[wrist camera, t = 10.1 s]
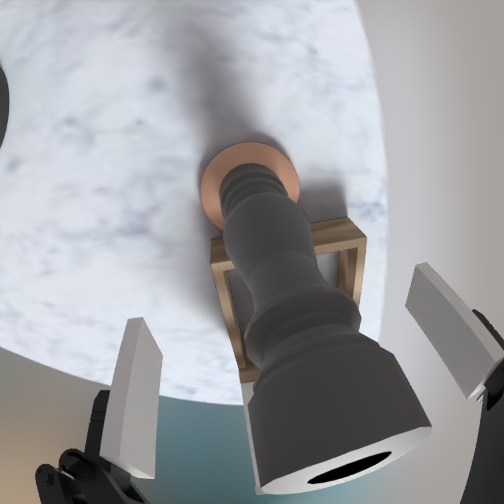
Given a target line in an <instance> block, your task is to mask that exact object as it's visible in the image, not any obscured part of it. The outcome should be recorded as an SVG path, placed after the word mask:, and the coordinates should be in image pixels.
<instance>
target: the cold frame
mask: <svg viewBox="0 0 504 504" xmlns="http://www.w3.org/2000/svg"><path fill="white" fill-rule="evenodd" d="M310 227H311V232H312V238H313V244H314V250H315V255H318V254H323V253H329V252H334V251H340V252H339V273H338V289H340V290H341V291H343V292H344V293H346V294H347V295H348V296H350V297H351V298H353V300H354V301H355V303H356V304H357V307H358V310H359V303H360V296H361V289H362V281H363V273H364V264H365V254H366V243H367V237H366V236H365V235H364V233H363V232H362V231H361V230H360V229H359V228H358V227H357V226H356V225H355V224H354V223H353V222H352V221H351V220H350V219H349V218H342V219H335V220H329V221H322V222H316V223H310ZM210 265H211V269H212V273H213V277H214V281H215V284H216V288H217V292H218V296H219V300H220V304H221V308H222V311H223V315H224V319H225V322H226V326H227V330H228V333H229V337H230V341H231V344H232V348H233V351H234V355H235V358H236V362H237V365H238V368H239V377H240V383H247V382H254V381H255V380H256V378H257V376H258V375H259V373H260V368H258V367H257V366H256V365H255V364H254V363H253V362H252V361H251V360H250V359H249V358H248V357H247V352H246V347H245V342H244V341H242V337H241V332H240V328H239V324H238V319H237V315H236V311H235V306H234V302H233V297H232V293H231V288H230V284H229V279H228V275H227V270H232V269H236V268H235V266H234V265H233V263H232V261H231V260H230V258H229V257H228V255H227V253H226V250H225V245H224V239H223V238H219V239H213V240H211V260H210Z"/></svg>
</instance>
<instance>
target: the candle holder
mask: <svg viewBox="0 0 504 504" xmlns="http://www.w3.org/2000/svg"><path fill="white" fill-rule="evenodd" d="M219 196H220V206H221V212H222V216H223V218H224V219H225V222H226V223H225V227H224V230H223V239H224V245H225V250H226V253H227V255H228V257H229V258H230V260H231V261H232V263H233V265H234V266H235V268H236V270H237V271H238V273H239V275H240V276H241V278H242V279H243V281H244V283H245V284H246V286H247V288H248V289H249V291H250V293H251V298H252V303H253V308H254V314H253V315H252V316H251V318H250V321H249V323H248V326H247V328H246V331H245V334H244V342H245V347H246V352H247V357H248V358H249V359H250V360H251V361H252V362H253V363H254V364H255V365H256V366H257V367H258V368H260V373H259V375H258V376H257V378H256V380H255V382H254V384H253V392H254V394H253V396H252V398H251V400H250V401H249V403H248V412H249V419H250V426H251V432H252V439H253V445H254V451H255V458H256V464H257V470H258V476H259V482H260V488H261V490H262V491H263V493H270V494H290V493H300V492H306V491H312V490H317V489H321V488H326V487H329V486H333V485H336V484H340V483H343V482H346V481H349V480H352V479H355V478H357V477H360V476H362V475H365V474H367V473H370V472H372V471H374V470H377V469H379V468H381V467H383V466H385V465H387V464H388V463H390V462H392V461H394V460H396V459H397V458H399V457H401V456H402V455H404V454H406V453H407V452H409V451H410V450H411V449H413V448H414V447H416V446H417V445H419V444H420V443H421V442H422V441H423V440H424V439H425V438H426V437H427V436H428V435H429V434H430V432H431V429H432V426H431V423H430V421H429V419H428V418H427V416H426V413H425V412H424V410H423V408H422V406H421V404H420V402H419V400H418V398H417V396H416V394H415V392H414V390H413V389H412V387H411V385H410V383H409V381H408V379H407V378H406V376H405V374H404V372H403V371H402V369H401V367H400V365H399V363H398V362H397V360H396V358H395V356H394V355H393V354H392V353H390V352H389V351H387V350H385V349H383V348H381V347H380V346H379V344H378V343H377V342H376V341H374V340H372V339H370V338H368V337H367V336H365V335H363V334H361V333H360V332H359V327H360V323H361V315H360V313H359V310H358V307H357V304H356V303H355V301H354V300H353V298H351V297H350V296H348V295H347V294H346V293H344V292H343V291H341V290H340V289H338V288H337V287H333V286H328V285H327V283H326V282H325V280H324V278H323V276H322V275H321V273H320V271H319V269H318V267H317V261H316V255H315V250H314V244H313V238H312V232H311V227H310V223H309V221H308V219H307V217H306V215H305V213H304V211H303V209H302V208H301V206H299V205H298V204H297V203H295V202H294V201H293V200H292V199H290V198H289V197H288V192H287V190H286V189H285V187H284V185H283V183H282V181H281V180H280V179H279V178H278V176H277V175H276V174H275V173H274V172H273V171H272V170H270V169H269V168H268V167H266V166H265V165H261V164H257V163H247V164H241V165H239V166H237V167H235V168H234V169H232V170H230V171H229V172H228V174H227V175H226V176H225V177H224V179H223V180H222V183H221V187H220V191H219Z"/></svg>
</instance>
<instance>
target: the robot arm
mask: <svg viewBox="0 0 504 504" xmlns="http://www.w3.org/2000/svg"><path fill="white" fill-rule="evenodd" d="M8 113H9V94H8V87H7V82H6V79H5V76H4V74H3V72H2V71H1V69H0V147H1V145H2V142H3V139H4V136H5V132H6V127H7V122H8ZM405 307H406V308H407V309H408V311H409V312H410V313H411V315H412V316H413V318H414V319H415V320H416V322H417V323H418V325H419V326H420V327H421V329H422V330H423V332H424V333H425V335H426V336H427V338H428V339H429V340H430V342H431V343H432V345H433V346H434V348H435V349H436V351H437V352H438V354H439V355H440V357H441V358H442V360H443V361H444V363H445V365H446V366H447V367H448V369H449V371H450V372H451V374H452V376H453V377H454V379H455V381H456V382H457V384H458V385H459V387H460V389H461V390H462V392H463V394H464V395H465V397H466V399H468V398H470V397H471V396H473V395H474V394H476V393H477V392H478V391H479V390H480V389H481V388H482V387H483V385H484V386H485V387H486V389H485V390H484V391H483V392H482V393H481V395H480V396H479V397H478V398H477V401H476V402H477V403H478V402H479V401H480V400H481V399H482V398H483V400H482V401H481V403H482V412H481V419H480V427H479V433H478V438H477V443H476V448H475V453H474V457H473V461H472V465H471V469H470V473H469V477H468V480H467V483H466V487H465V490H464V493H463V496H462V499H461V502H460V504H504V340H503V338H502V337H501V336H500V335H499V333H498V332H497V331H496V330H494V327H493V326H492V325H491V324H489V321H488V320H487V319H486V318H485V316H484V315H483V314H481V313H480V312H478V311H477V310H475V309H474V310H471V309H470V308H469V307H468V306H467V305H466V304H465V302H464V301H463V300H462V299H461V298H460V297H459V296H458V295H457V294H456V292H455V291H454V290H453V289H452V288H451V287H450V286H449V285H448V284H447V283H446V282H445V281H444V280H443V279H442V278H441V276H440V275H439V274H438V273H437V272H436V271H435V270H434V269H433V268H432V267H431V266H430V265H429V264H428V263H427V262H426V263H422V264H418V265H415V269H414V274H413V278H412V282H411V286H410V290H409V294H408V297H407V301H406V305H405ZM162 359H163V355H162V353H161V351H160V349H159V347H158V346H157V344H156V342H155V340H154V338H153V336H152V334H151V332H150V330H149V328H148V326H147V325H146V323H145V321H144V319H143V317H141V318H133V319H128V321H127V324H126V328H125V332H124V335H123V339H122V343H121V347H120V351H119V355H118V359H117V363H116V367H115V372H114V376H113V381H112V385H111V390H100V392H99V393H98V395H97V397H96V398H95V400H94V404H93V409H92V414H91V418H90V421H91V422H90V423H89V428H88V434H87V439H86V445H85V451H84V453H83V452H81V451H80V450H78V449H72V448H71V449H68V450H66V451H65V452H63V454H62V455H61V457H60V459H59V468H55V467H53V466H51V465H49V464H42V465H41V466H39V468H38V469H37V470H36V474H35V478H36V485H37V489H38V493H39V497H40V501H41V504H150V503H149V502H148V500H147V499H146V498H145V497H144V496H143V494H142V493H141V492H140V491H139V490H138V488H137V487H136V486H135V485H134V483H133V482H132V481H131V480H130V476H131V475H130V474H132V475H133V476H135V477H137V478H149V479H155V445H156V428H157V411H158V399H159V388H160V378H161V368H162Z"/></svg>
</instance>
